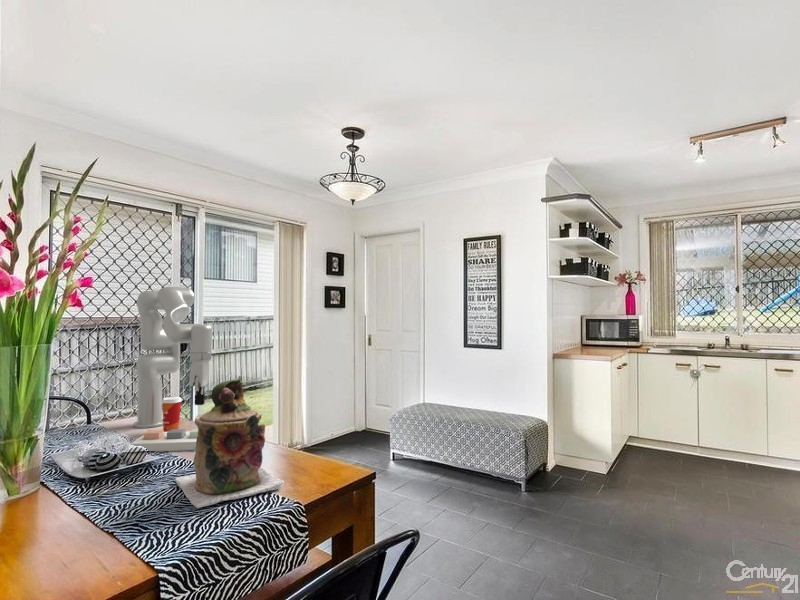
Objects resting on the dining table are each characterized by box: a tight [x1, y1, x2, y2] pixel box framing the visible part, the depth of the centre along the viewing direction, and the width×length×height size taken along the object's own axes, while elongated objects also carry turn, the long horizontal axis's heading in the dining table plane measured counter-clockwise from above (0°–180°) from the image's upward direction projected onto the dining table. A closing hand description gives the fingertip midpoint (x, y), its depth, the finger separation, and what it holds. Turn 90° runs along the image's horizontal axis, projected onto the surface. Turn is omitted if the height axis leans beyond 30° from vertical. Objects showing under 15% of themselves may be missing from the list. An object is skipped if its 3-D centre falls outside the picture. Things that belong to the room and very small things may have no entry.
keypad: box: [129, 430, 197, 452], centre depth 171 cm, size 16×26×3 cm, turn 100°
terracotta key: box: [143, 429, 164, 440], centre depth 170 cm, size 5×5×2 cm
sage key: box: [189, 428, 198, 438], centre depth 172 cm, size 5×5×2 cm
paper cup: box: [162, 396, 183, 432], centre depth 189 cm, size 8×8×14 cm
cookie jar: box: [174, 374, 285, 509], centre depth 132 cm, size 25×25×32 cm
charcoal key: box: [167, 428, 187, 439], centre depth 171 cm, size 5×5×2 cm
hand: (199, 404), depth 173 cm, fingers closed
